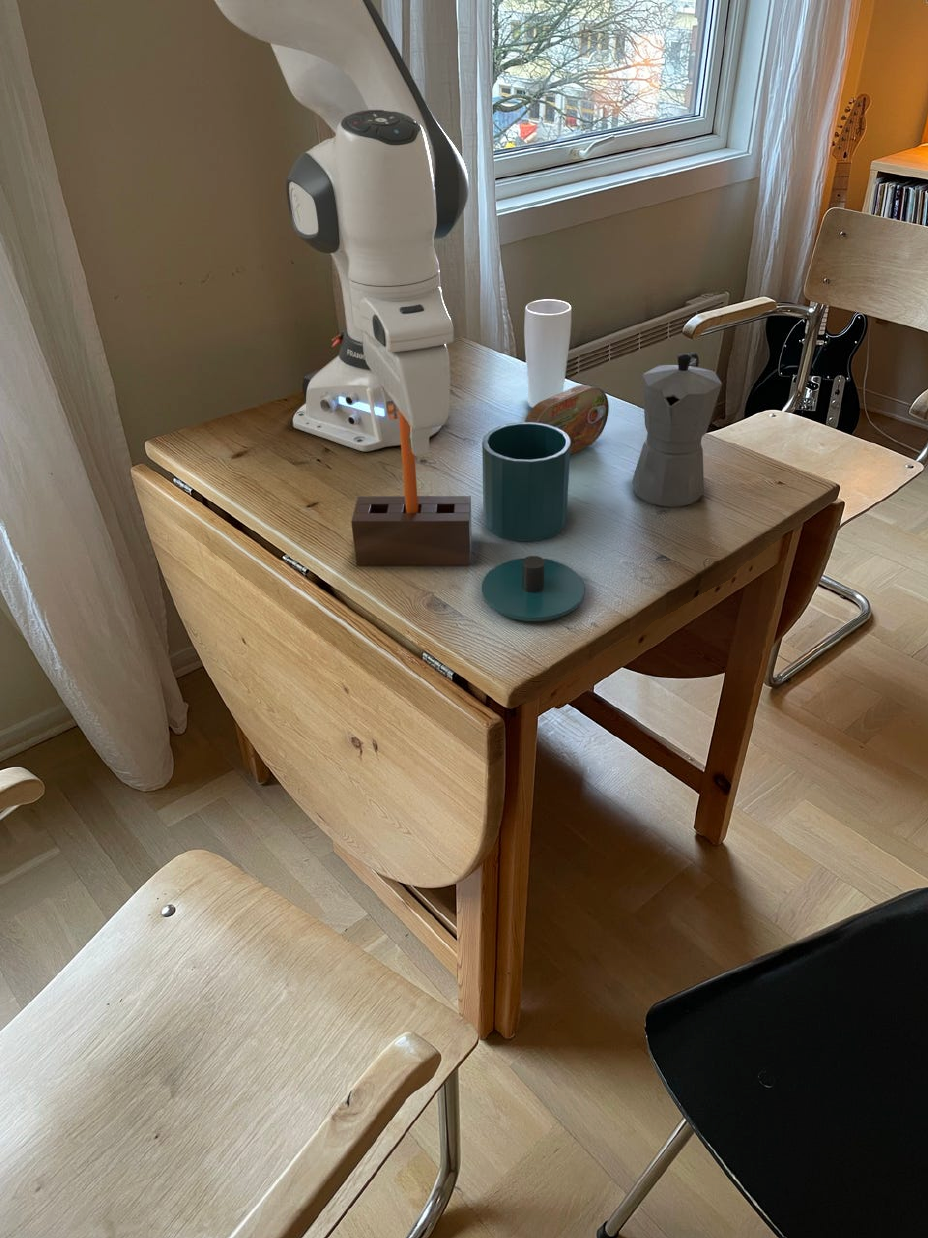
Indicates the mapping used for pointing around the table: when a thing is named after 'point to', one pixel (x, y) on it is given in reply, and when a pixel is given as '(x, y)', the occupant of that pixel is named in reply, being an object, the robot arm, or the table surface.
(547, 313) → the drinking glass
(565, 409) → the tin
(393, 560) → the straw rack
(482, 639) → the table surface
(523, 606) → the can lid
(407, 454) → the straw
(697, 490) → the coffeepot
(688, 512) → the table surface
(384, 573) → the table surface
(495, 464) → the can
